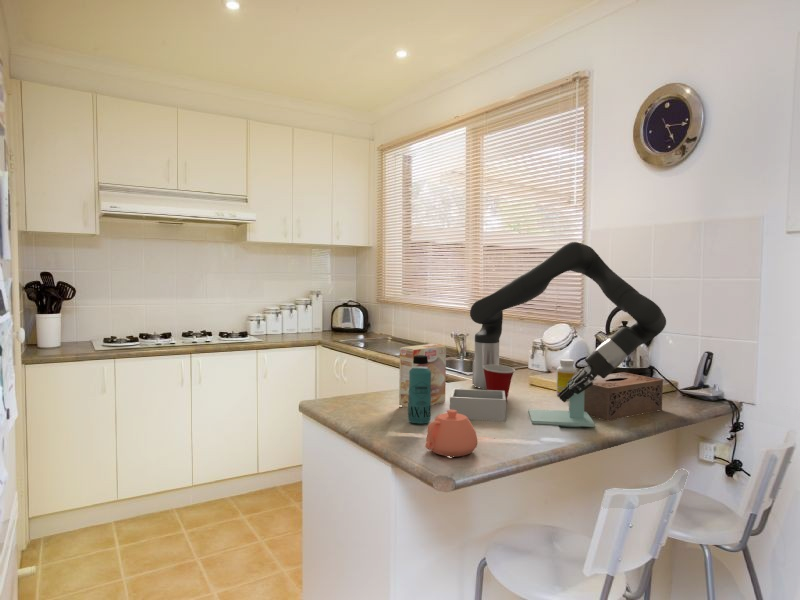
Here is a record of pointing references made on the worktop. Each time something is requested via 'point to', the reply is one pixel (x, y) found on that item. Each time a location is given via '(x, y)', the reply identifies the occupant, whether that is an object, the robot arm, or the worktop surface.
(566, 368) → the supplement bottle
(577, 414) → the lid
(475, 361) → the robot arm
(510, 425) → the worktop surface
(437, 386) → the coffeecake box
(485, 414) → the tub
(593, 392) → the tissue box cover
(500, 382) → the plastic cup
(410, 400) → the beverage bottle
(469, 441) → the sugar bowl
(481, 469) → the worktop surface
